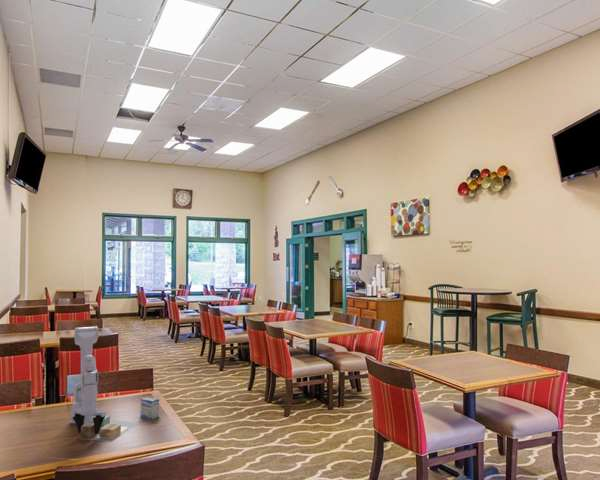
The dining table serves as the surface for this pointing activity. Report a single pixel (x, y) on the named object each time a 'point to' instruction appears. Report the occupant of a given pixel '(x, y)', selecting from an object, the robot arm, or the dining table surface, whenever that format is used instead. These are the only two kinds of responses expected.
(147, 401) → the medicine box
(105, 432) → the oak base block
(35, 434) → the dining table surface
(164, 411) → the dining table surface
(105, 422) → the sage-green block
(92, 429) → the walnut block
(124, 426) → the blueprint board
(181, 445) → the dining table surface
